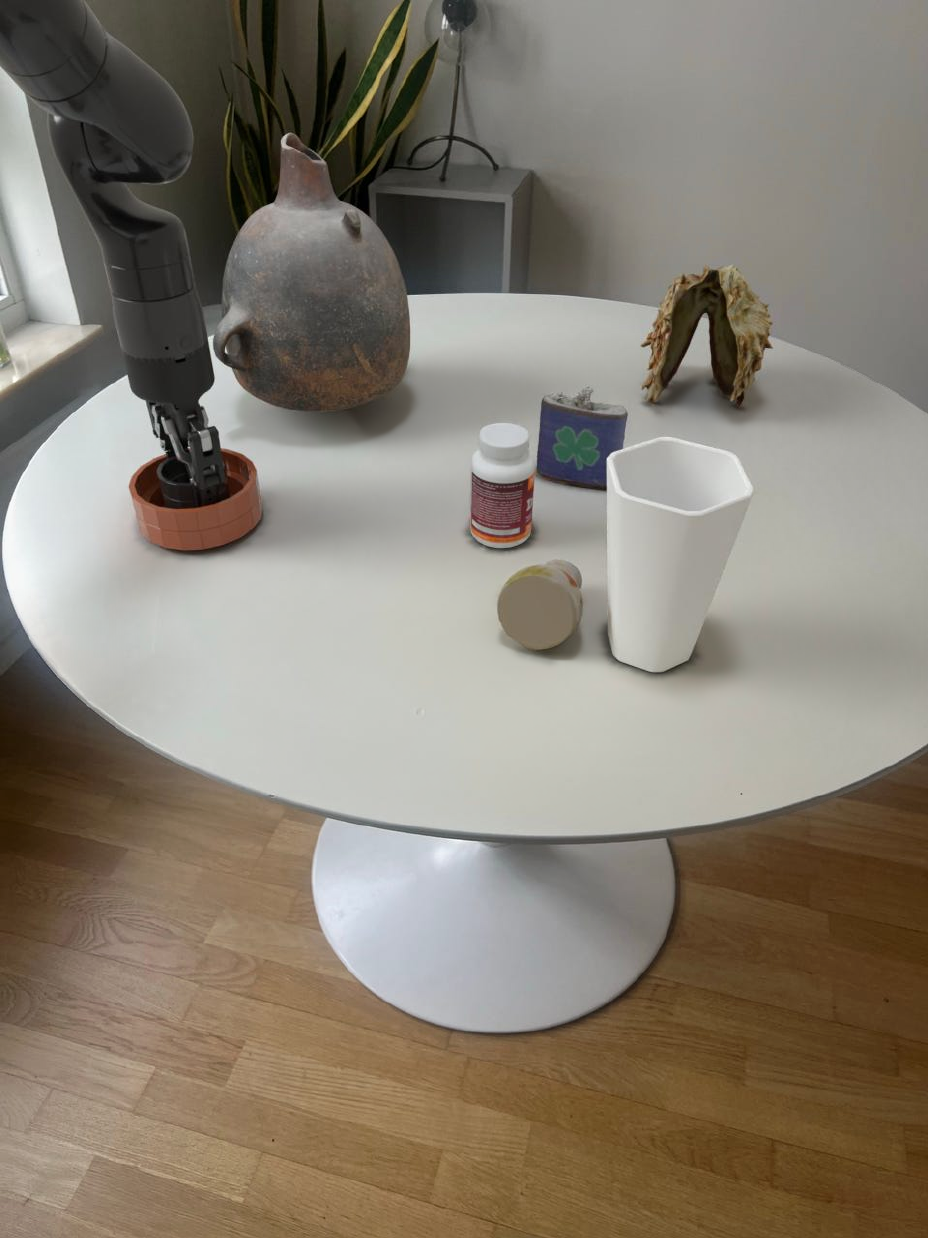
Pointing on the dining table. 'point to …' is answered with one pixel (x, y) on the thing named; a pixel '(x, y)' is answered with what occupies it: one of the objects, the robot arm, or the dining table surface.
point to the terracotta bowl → (198, 523)
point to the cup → (668, 544)
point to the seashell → (710, 331)
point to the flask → (578, 438)
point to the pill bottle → (502, 486)
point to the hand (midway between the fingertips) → (196, 497)
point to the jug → (312, 297)
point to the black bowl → (182, 485)
